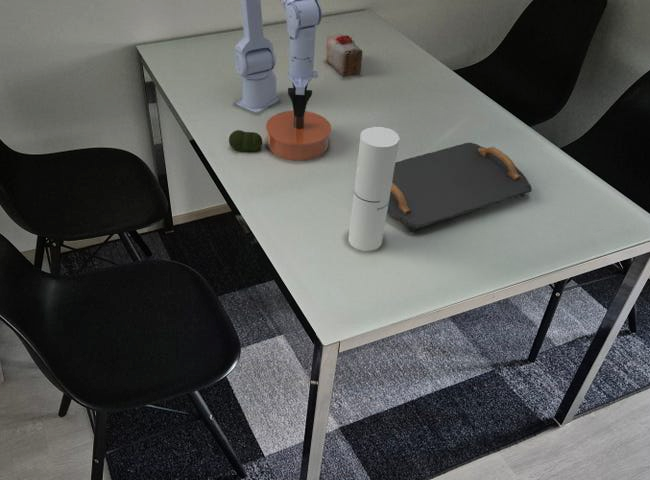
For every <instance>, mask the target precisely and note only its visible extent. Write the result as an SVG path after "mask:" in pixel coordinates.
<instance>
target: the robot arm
mask: <svg viewBox="0 0 650 480" xmlns="http://www.w3.org/2000/svg"><path fill="white" fill-rule="evenodd" d="M279 2H280V4H281V6H282V7H283V9H284V10H285V11H284V16H285V21H286V26H287V27H286V28H287V29H286V30H287V31H286V32H287V34H288V35H289V44H288V46H289V48H288V49H289V50H288V71H287V77H288V78H289V80H290V81H291V83H292V87H287V95H288V97H289V98H290V101H291V104H292V105H291V106H292V111H294V116H295V117H303V116H304V113H305V111H306V109H307V105H308V102H309V101H310V98H312V95H313V90H312V89H308V86H309V83H310V82H311V81H312V80H313V79H316V78H317V79H318V78H319V72H318V71H317V70H314V65H315V64H314V63H315V49H316V29H317V27H316V26H319V25H320V24H321V22H322V20H323V19H322V18H323V10H322V6H321V4H320V2H319V0H279ZM240 7H241V17H242V27H243V28H242V29H243V37H242V39H241V40H240V41H239V42H237V43H236V45H235V46H234V59H233V61H234V67H235V71H236V72H237V74H238V75H239V76H240V77H241V97H242V99H240V100H238V101H236V102H235V105H237V106H239V107H241V108H244V109H245V110H248V111H252V112H255V113H259V112H261V111H262V110H265V109H267V108H268V107H270V106H271V105H273V104H275V103H276V102H278V101H279V99H278V98H277V76H276V74H275V72H274V69H275V68H276V63H277V58H276V54H275V51H274V46H273V43H272V42H271V40H270V39H268V38H267V37H265V36H264V27H263V26H264V25H263V14H262V3H261V0H240Z"/></svg>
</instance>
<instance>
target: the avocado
mask: <svg viewBox="0 0 650 480" xmlns="http://www.w3.org/2000/svg"><path fill="white" fill-rule="evenodd" d="M228 143H229V146H230V148H232V149H233V150H234V151H237V152H240V151H241V152H256V151H258V150H259V149H261V148H262V145H263V138H262V136H261V135H260V134H259V133H258V132H254V131H244V130H241V129H240V130H239V129H237V130H234V131H232V132H231V134H230V135H229V137H228Z"/></svg>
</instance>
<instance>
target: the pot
mask: <svg viewBox="0 0 650 480" xmlns="http://www.w3.org/2000/svg"><path fill="white" fill-rule="evenodd" d="M329 136H330V135H329ZM329 136H328V137H327V138H326V139H325V140H323V141H321V142H319V143H316V144H312V145H303V146H297V145H289V144H285V143H281V142H279V141H277V140H275V139H273V138H272V137H271V136H270V135H269V134H268V133H267V147H268V150H269V151H270V152H272V154H274V155H275V156H277V157H279V158H281V159H284V160H289V161H294V162H303V161H309V160H312V159H315V158H318V157H320V156H322V155H323V154H324V153H326V151H327V150H328V148H329Z"/></svg>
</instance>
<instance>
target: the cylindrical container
mask: <svg viewBox="0 0 650 480" xmlns="http://www.w3.org/2000/svg"><path fill="white" fill-rule="evenodd" d="M399 142H400V136H399V134H398V133H397V132H396V131H395V130H393V129H391V128H388V127H382V126H372V127H367V128H365V129H363V130H362V131H361V132H360V138H359V145H358V146H359V147H358V154H357V163H356V172H355V180H354V187H353V196H352V205H351V213H350V221H349V231H348V243H349V244H350V246H351V247H353V248H355V249H356V250H358V251H361V252H362V251H363V252H373V251H376V250H378V249H379V248H380V247H381V246H382V244H383V239H384V234H385V228H386V221H387V215H388V213H387V210H388V204H389V198H390V192H391V186H392V180H393V174H394V167H395V162H397V154H398V148H399Z"/></svg>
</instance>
